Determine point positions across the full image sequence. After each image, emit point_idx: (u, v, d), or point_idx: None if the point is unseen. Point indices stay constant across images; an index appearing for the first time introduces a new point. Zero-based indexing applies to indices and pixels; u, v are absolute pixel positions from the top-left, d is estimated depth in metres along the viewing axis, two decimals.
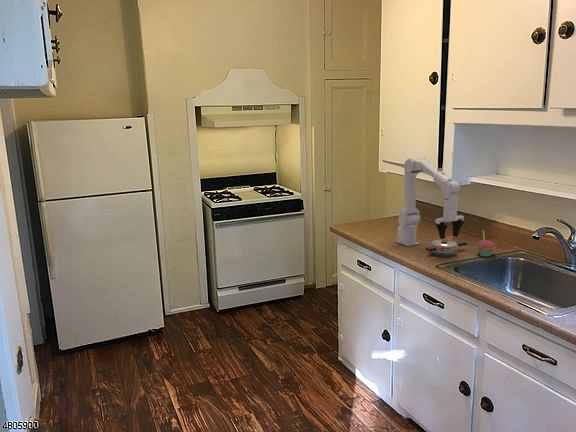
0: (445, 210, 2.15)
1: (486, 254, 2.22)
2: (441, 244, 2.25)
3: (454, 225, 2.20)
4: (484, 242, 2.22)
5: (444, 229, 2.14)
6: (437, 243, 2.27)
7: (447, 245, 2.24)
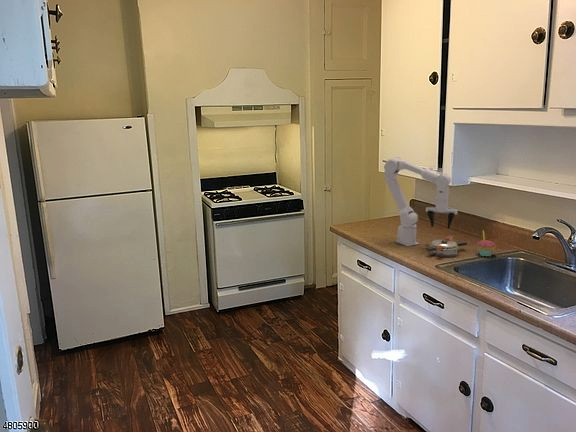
0: None
1: (486, 254, 2.22)
2: (441, 244, 2.25)
3: None
4: (484, 242, 2.22)
5: (430, 217, 2.35)
6: (437, 243, 2.27)
7: (447, 245, 2.24)
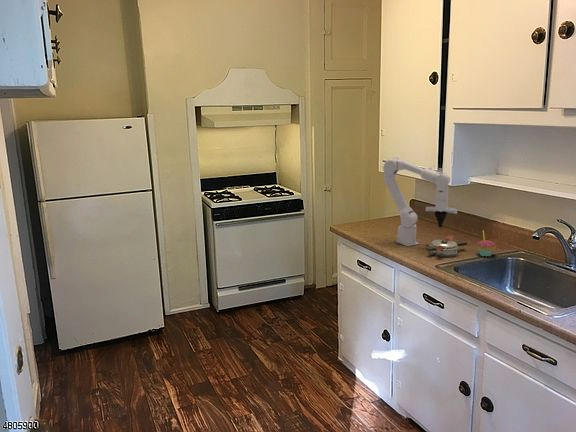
0: None
1: (486, 254, 2.22)
2: (441, 244, 2.25)
3: None
4: (484, 242, 2.22)
5: (437, 217, 2.34)
6: (437, 243, 2.27)
7: (447, 245, 2.24)
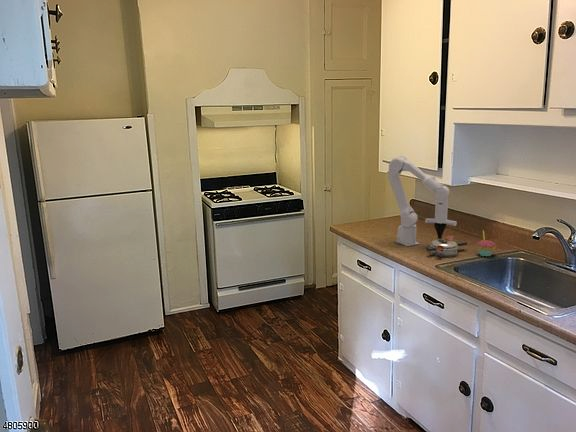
0: None
1: (486, 254, 2.22)
2: (441, 244, 2.25)
3: None
4: (484, 242, 2.22)
5: (437, 229, 2.35)
6: (437, 243, 2.27)
7: (447, 245, 2.24)
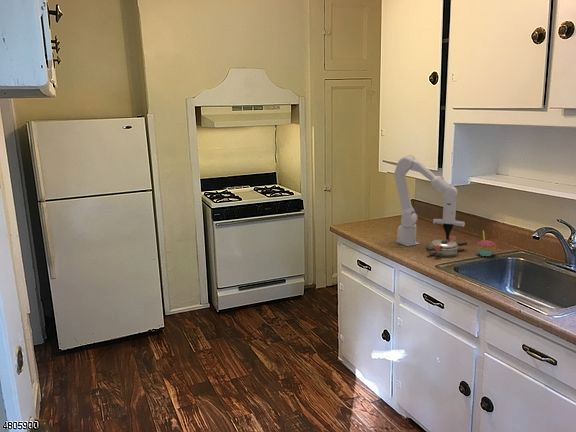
0: None
1: (486, 254, 2.22)
2: (440, 244, 2.26)
3: None
4: (484, 242, 2.22)
5: (446, 230, 2.34)
6: (437, 243, 2.27)
7: (446, 245, 2.24)
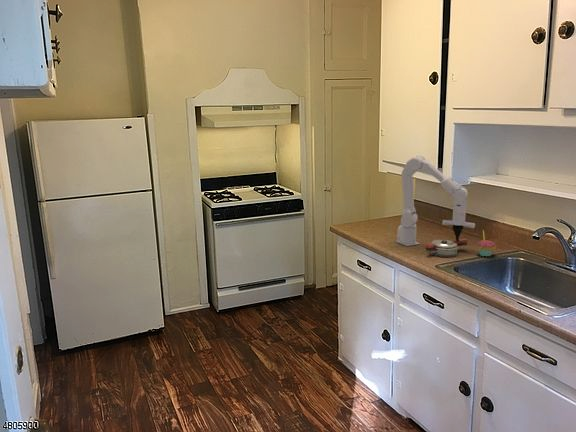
0: None
1: (486, 254, 2.22)
2: (438, 243, 2.27)
3: None
4: (484, 242, 2.22)
5: (455, 231, 2.31)
6: (436, 242, 2.29)
7: (441, 245, 2.24)
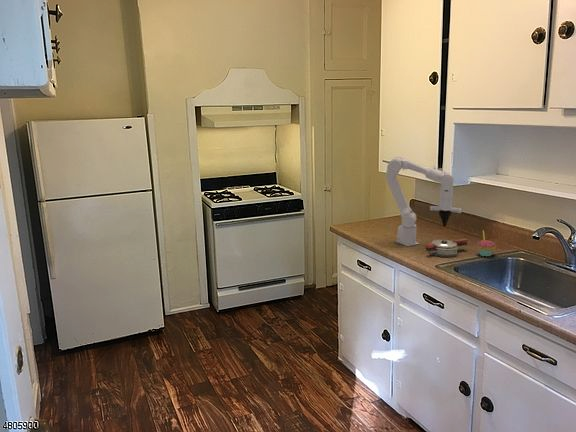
0: None
1: (486, 254, 2.22)
2: (438, 243, 2.27)
3: None
4: (484, 242, 2.22)
5: (442, 217, 2.35)
6: (436, 242, 2.29)
7: (441, 245, 2.24)
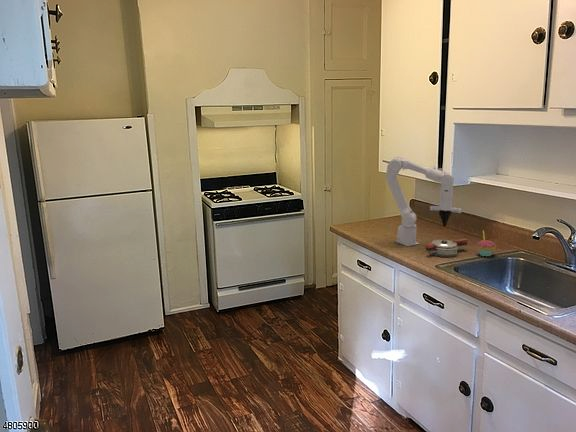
0: None
1: (486, 254, 2.22)
2: (438, 243, 2.27)
3: None
4: (484, 242, 2.22)
5: (442, 217, 2.35)
6: (436, 242, 2.29)
7: (441, 245, 2.24)
